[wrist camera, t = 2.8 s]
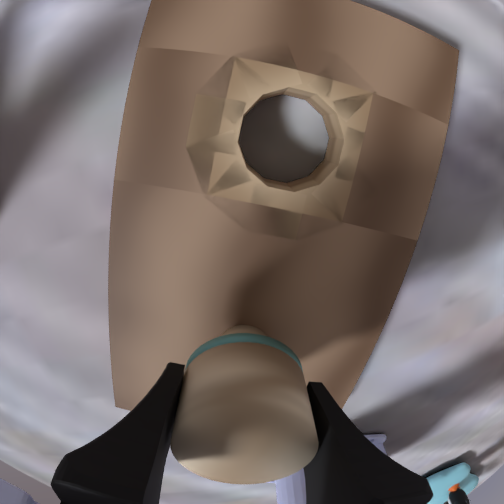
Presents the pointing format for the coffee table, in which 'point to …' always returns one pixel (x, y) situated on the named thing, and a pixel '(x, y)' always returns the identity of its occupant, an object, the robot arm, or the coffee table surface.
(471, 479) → the penguin figurine
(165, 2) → the board
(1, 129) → the coffee table surface
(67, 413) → the coffee table surface
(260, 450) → the beige cylinder
